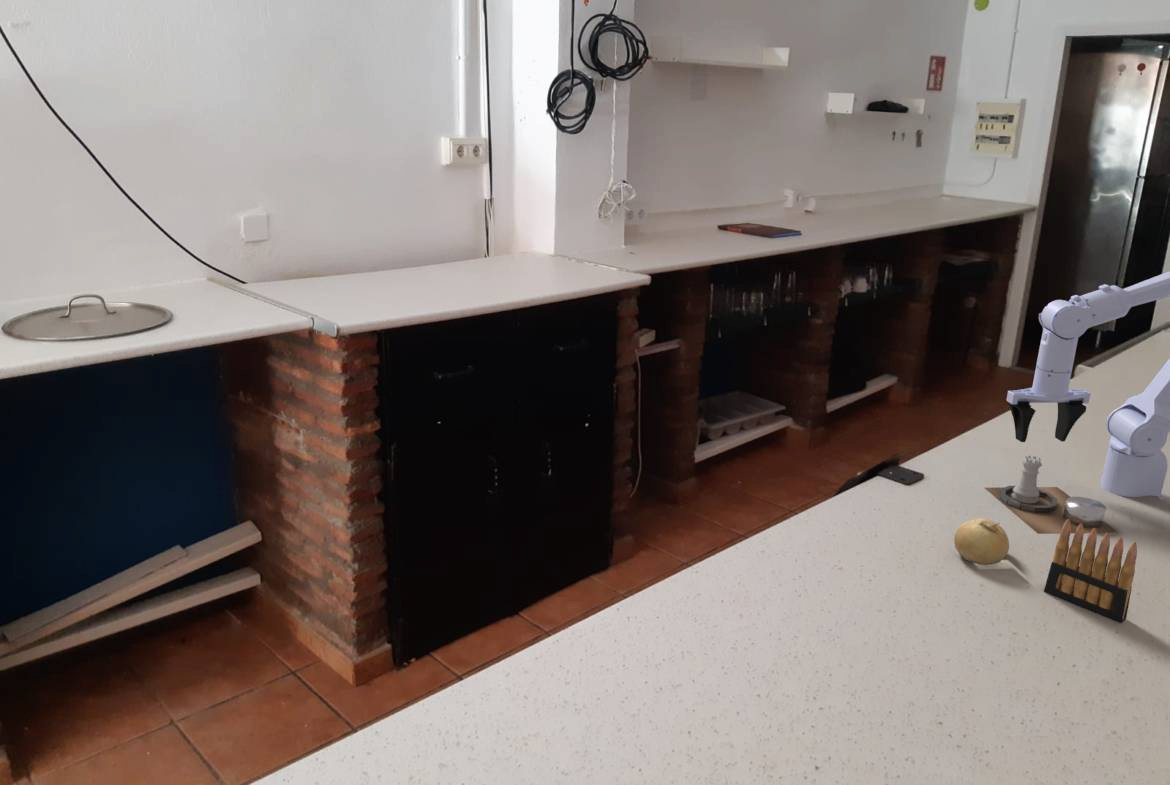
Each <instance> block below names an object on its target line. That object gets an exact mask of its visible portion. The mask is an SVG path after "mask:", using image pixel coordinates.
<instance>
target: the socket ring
mask: <svg viewBox="0 0 1170 785" xmlns="http://www.w3.org/2000/svg"><path fill="white" fill-rule="evenodd" d="M1016 486H1017V485H1008V486H1007V485H1006V486H1004V488H1002V489H1001V493H1000V499H1001V500H1002V501H1003V502H1004V503H1005V504H1007V505H1009V506H1011V507H1014V508H1016V509H1019V510H1022V511H1028V512H1033V513H1049V512H1052V511H1054V510H1056V509H1057V498H1055V497H1054V496H1053V495H1051V494H1050V493H1048V492H1045V491H1042V490H1040V489H1038V491H1039V497H1041V498H1044V499H1046V500H1047V501H1048V502H1050V503H1051V504H1049V505H1046V506H1034V505H1029V504H1024V503H1020V502H1018V501H1015V500H1013V499H1011V498H1010V497H1008V496H1007V494H1009V493H1014V492H1013V489H1014V487H1016Z"/></svg>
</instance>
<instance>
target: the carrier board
mask: <svg viewBox="0 0 1170 785" xmlns="http://www.w3.org/2000/svg"><path fill="white" fill-rule="evenodd" d="M1004 487H1005V486H1004ZM1004 487H1003V486H1002V487H984V489H985V490H986V491H987V492H988V493H990V494H991V495H992V496H993V497H994V498H995V499H997V500H998V501H999V502H1000V503H1001V504H1003V506H1005V507H1006V508H1007V509H1008V510H1010V511H1011V512H1012V513H1013V515H1015V516H1016V517H1018V519H1020V520H1021V521H1022V522H1024V523H1025V524H1026V525H1027V526H1029V528H1031V530H1033V531H1034V532H1035V533H1037V534H1040V535H1041V534H1045V535H1046V534H1061V530H1062V528H1063V525H1064V523H1065V522H1066V520H1065V519H1064V518H1063V513H1064V508H1065V504H1066V499H1067V498H1069V497H1071V496H1070V495H1069V494H1067V493H1066V492H1065V491H1063V489H1061V488H1059V487H1058V486H1037V488H1038V489H1040V490H1042V491H1045V492H1048V493H1050V494H1051V495H1053V496H1054V497H1055V498H1057V509H1056V510H1054V511H1052V512H1049V513H1033V512H1028V511H1022V510H1019V509H1016V508H1014V507H1011V506H1009V505H1007V504H1005V503H1004V502H1003V501H1002V500H1001V499H1000V493H1001V489H1002V488H1004ZM1007 496H1008V497H1010V498H1011V499H1013V497H1012V493H1009V494H1007ZM1038 499H1039V501H1038V502H1036V503H1035V504H1029V505H1034V506H1046V505H1049V504H1051V503H1050V502H1048V501H1047V500H1046V499H1044V498H1041V497H1039V496H1038ZM1013 500H1014V499H1013ZM1015 501H1016V500H1015ZM1070 524H1071V523H1070ZM1077 528H1078V526H1076V525H1073V524H1071V531H1070V534H1075V532H1076V530H1077ZM1083 529H1084V534H1090V533H1091V531H1092V530H1093V528H1084V527H1083ZM1096 532H1097V534H1104V533H1105V534H1106V533H1109V534H1110V533H1112V534H1113V533H1115V534H1117V533H1119V531H1117V530H1116V529H1115V528H1113V527H1112V526H1111V525H1110V524H1108V523H1107V522H1105V521H1104V520H1103V524H1102V526H1101V527H1099V528H1096Z"/></svg>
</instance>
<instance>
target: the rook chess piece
mask: <svg viewBox="0 0 1170 785" xmlns="http://www.w3.org/2000/svg"><path fill="white" fill-rule="evenodd" d="M1041 461H1042V460H1041V458H1040V457H1037V456H1035V455H1033V456H1031V455H1029V454H1028V455H1025V456H1024V458H1023V459H1022V460H1021V463H1022V468H1021V476H1020V478H1019V482H1018V483H1017V484H1016V485H1015V486H1016V487H1014V489H1013V492H1014V493H1012V497H1013V499H1014V500H1016V501H1018V502H1020V503H1024V504H1035V503H1036V502H1038V501H1039V499H1038V496H1039V491H1038V488H1037V487H1038V486H1037V481H1038V480H1037V478H1038V475H1039V474H1040V472H1039V469H1040V468H1041V467H1042V466H1043V464H1042V462H1041Z"/></svg>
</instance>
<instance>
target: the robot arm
mask: <svg viewBox="0 0 1170 785" xmlns="http://www.w3.org/2000/svg"><path fill="white" fill-rule="evenodd" d="M1168 297H1170V271H1166V272H1163V273H1161V274H1159V275H1157V276H1153V277H1151V278H1149V279H1145V280H1142V281H1140V282H1138V283H1135V284H1133V285H1130V286H1127V287H1124V288H1121V287H1120V286H1117V285H1114V284H1113V285H1108V284H1105V283H1104V284H1102V285H1099V286H1098V290H1093V291H1092V292H1091V291H1090V292H1087V293H1085V294H1082V295H1077V294H1075V295H1072V296H1070V299H1069V300H1063V299H1055V300H1053V301H1051V302H1049V303H1048V304H1047V305H1046V306H1044V308H1043V309H1042V312H1040V313H1038V321H1039V323H1040V325H1041V326H1042V334H1041V339H1040V343H1039V344H1040V345H1039V349H1038V355H1037V359H1036V365H1035V371H1034V375H1033V382H1032V386H1031V387H1028V388H1024V389H1017V390H1007V394H1006V401H1007V404H1008V408H1009V409H1010V412H1011V415H1012V418H1013V419H1012V420H1013V424H1014V432H1015V439H1016V440H1018V442H1021V443H1025V442H1026V440H1027V438H1028V435H1029V434H1028V433H1029V429H1030V424H1031V422H1032V419H1033V417H1034V415H1035V413H1036V412H1037V411H1036V409H1034V408H1032V405H1031V403H1032V404H1033V403H1035V404H1038V403H1040V404H1041V403H1042V404H1043V403H1044V404H1045V403H1048V404H1050V403H1057V420H1056V426H1055V431H1054V436H1055V437H1054V438H1055V439H1056V440H1058V441H1060V442H1066V440H1067V438H1068V436H1069V433H1070V432H1071V430H1072V429H1073V427H1074V425H1075V423H1077V422H1078V421H1079V419H1080V418H1081V417H1082V416H1083V415H1084V414H1085V413H1086V411H1087V406H1086V405H1084V404H1089V403H1090V398H1091V393H1090V392H1089V391H1086V390H1085V389H1074V388H1073V389H1069V387H1070V383H1071V377H1072V371H1073V367H1074V362H1075V357H1076V350H1077V346H1078V342H1079V338H1080V337H1081V336H1082V335H1084V333H1086V331H1087V330H1088V329H1089V328H1093V327H1095V326H1099V325H1102V324H1104V323H1105V324H1106V323H1108V322H1111V321H1114V320H1117V319H1120V318H1123V317H1126V315H1127V314H1128V313H1129V311H1130V310H1131V308H1132V307H1136V306H1140V305H1143V304H1147V303H1151V302H1155V301H1157V300H1158V301H1159V300H1163V299H1165V298H1168ZM1105 426H1106V430H1107V432H1108V433H1109V434H1110V438H1109V443H1108V444H1109V445H1108V447H1107V448H1108V449H1107V453H1106V457H1105V462H1104V466H1103V470H1102V475H1101V478H1100V479H1101V480H1100V483H1099V484H1100V485H1099V486H1100V487H1101V489H1103V490H1105V491H1106V492H1109V493H1110V494H1114V495H1117V496H1122V497H1126V498H1127V497H1128V498H1140V497H1147V496H1149V497H1151V496H1154V497H1155V496H1156V497H1158V498H1159V499H1161V500H1162V501H1164V498H1163V497H1161V495H1162V493H1163V487H1164V485H1165V480H1166V476H1167V472H1168V465H1169V464H1168V460H1167V459H1168V458H1167V457H1166V454H1165V453H1164V452H1163V451H1162V449H1163V448H1164V446H1165V445H1166V443H1167V439H1168V435H1169V434H1170V357H1169V358H1168V360H1167V361H1166V363H1164V365H1163V366H1162V368H1161V369H1160V370H1159V371H1158V372H1157V374H1156V375H1155V376H1154V378H1153V379H1152V380H1151V382H1150V383H1149V384H1148V386H1147V387H1146V388H1145V389H1144V390H1143V392H1141V393H1140V394H1136V395H1133V396H1130V397H1128V398H1127V399H1126V401H1125V402H1124V403H1123V404H1122V405H1120V406H1119V407H1117V408H1115V409H1114V410H1112V411H1111V412H1110V413H1109V415H1108V416H1107V418H1106V422H1105Z"/></svg>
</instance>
